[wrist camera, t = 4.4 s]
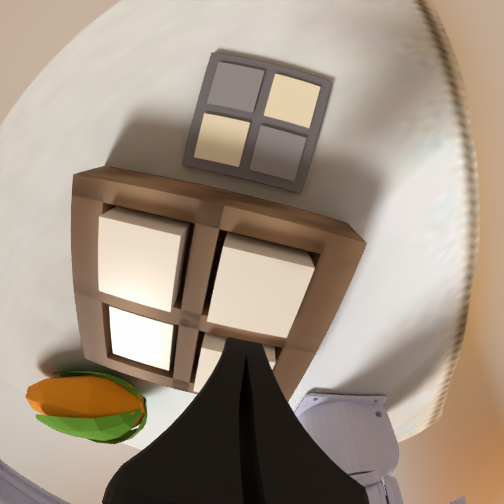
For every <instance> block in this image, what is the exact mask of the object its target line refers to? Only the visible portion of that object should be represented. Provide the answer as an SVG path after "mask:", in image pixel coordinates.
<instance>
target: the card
mask: <svg viewBox="0 0 504 504" xmlns="http://www.w3.org/2000/svg"><path fill="white" fill-rule="evenodd" d="M331 84H332V82H331V81H328V80H325V79H322V78H319V77H316V76H313V75H310V74H307V73H303V72H300V71H297V70H293V69H290V68H286V67H282V66H278V65H274V64H270V63H266V62H262V61H257V60H253V59H248V58H243V57H237V56H232V55H226V54H219V53H213V52H212V53H211V56H210V60H209V63H208V66H207V69H206V73H205V76H204V80H203V83H202V87H201V90H200V94H199V98H198V101H197V105H196V109H195V113H194V117H193V121H192V125H191V129H190V133H189V138H188V142H187V147H186V151H185V156H184V160H183V165H185V166H190V167H195V168H199V169H204V170H209V171H213V172H218V173H222V174H226V175H231V176H235V177H239V178H243V179H247V180H251V181H255V182H259V183H263V184H267V185H271V186H275V187H279V188H282V189H286V190H290V191H293V192H297V193H300V194H301V191H302V188H303V184H304V181H305V177H306V174H307V171H308V167H309V164H310V160H311V157H312V153H313V150H314V146H315V143H316V139H317V136H318V132H319V129H320V125H321V122H322V118H323V114H324V111H325V107H326V103H327V99H328V96H329V92H330V88H331Z"/></svg>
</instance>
